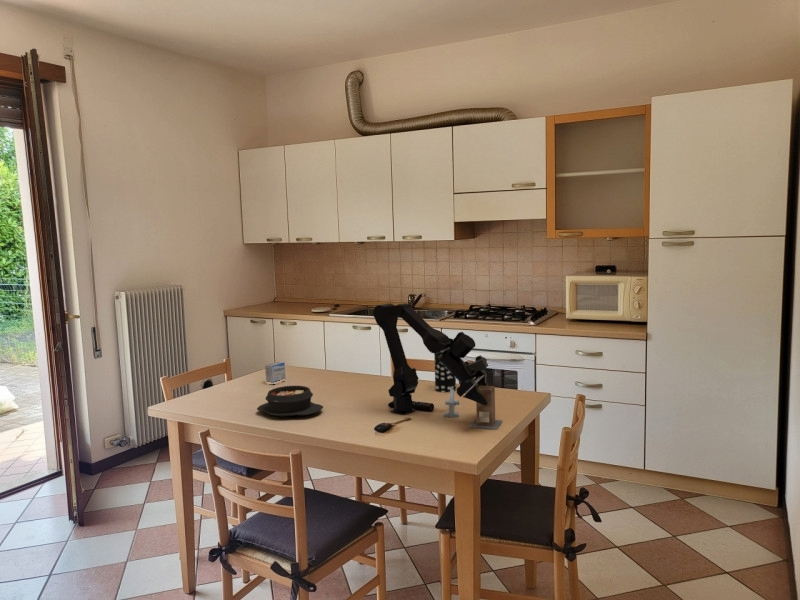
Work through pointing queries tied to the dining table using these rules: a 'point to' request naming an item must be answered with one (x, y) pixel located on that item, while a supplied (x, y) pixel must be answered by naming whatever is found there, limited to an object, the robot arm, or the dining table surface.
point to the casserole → (290, 402)
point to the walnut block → (486, 412)
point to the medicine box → (275, 372)
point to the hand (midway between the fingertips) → (489, 400)
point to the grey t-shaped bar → (451, 405)
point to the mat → (495, 426)
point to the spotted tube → (443, 377)
